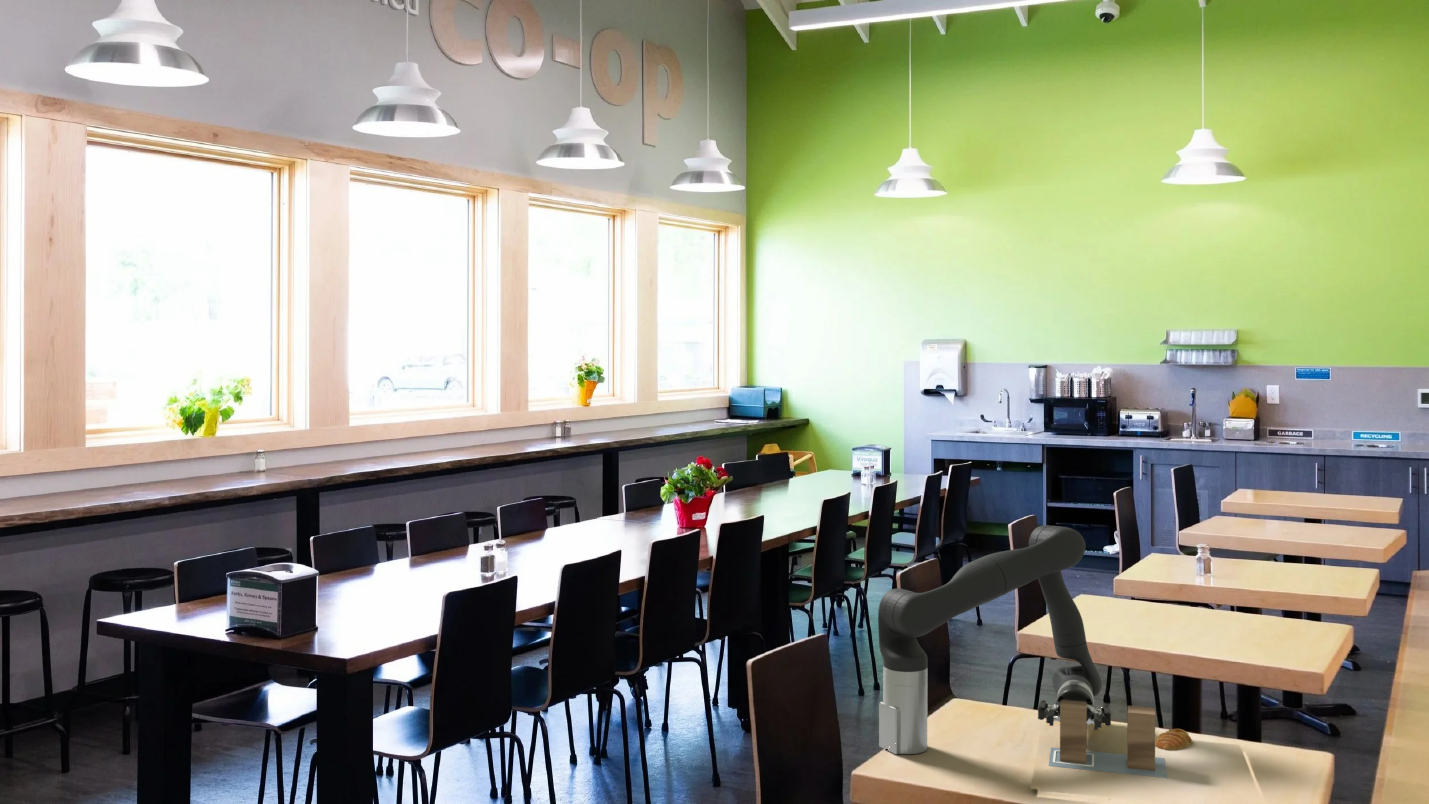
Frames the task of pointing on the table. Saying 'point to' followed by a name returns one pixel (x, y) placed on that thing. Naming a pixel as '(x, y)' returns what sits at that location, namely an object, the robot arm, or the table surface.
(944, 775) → the table surface
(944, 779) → the table surface
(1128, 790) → the table surface
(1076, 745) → the pillar
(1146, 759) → the built pillar
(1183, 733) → the pastry
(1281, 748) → the table surface
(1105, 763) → the board
